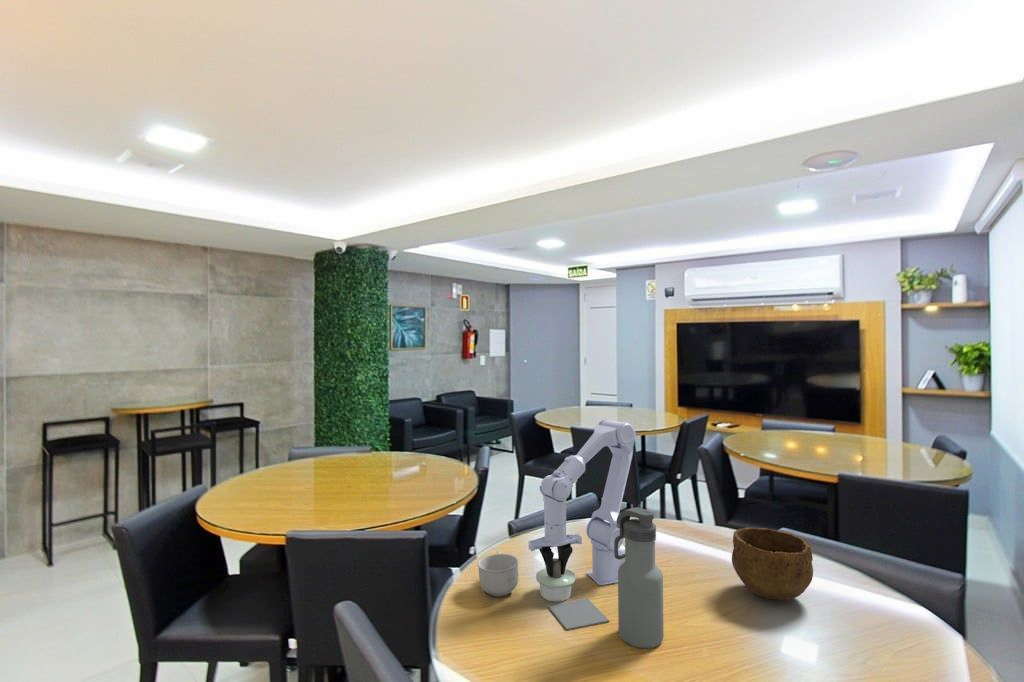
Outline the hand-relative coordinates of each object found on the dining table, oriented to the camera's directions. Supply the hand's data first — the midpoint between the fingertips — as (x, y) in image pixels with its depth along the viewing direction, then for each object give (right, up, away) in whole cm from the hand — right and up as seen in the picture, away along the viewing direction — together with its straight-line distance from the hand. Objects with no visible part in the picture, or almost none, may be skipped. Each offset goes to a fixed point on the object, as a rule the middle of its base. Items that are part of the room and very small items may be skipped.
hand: (555, 574), depth 130 cm
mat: (+4, -5, -10) cm, 12 cm away
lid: (0, -1, 0) cm, 1 cm away
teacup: (-15, -6, +3) cm, 16 cm away
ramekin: (0, -6, 0) cm, 6 cm away
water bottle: (+17, -5, -20) cm, 27 cm away
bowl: (+56, -5, -1) cm, 57 cm away
